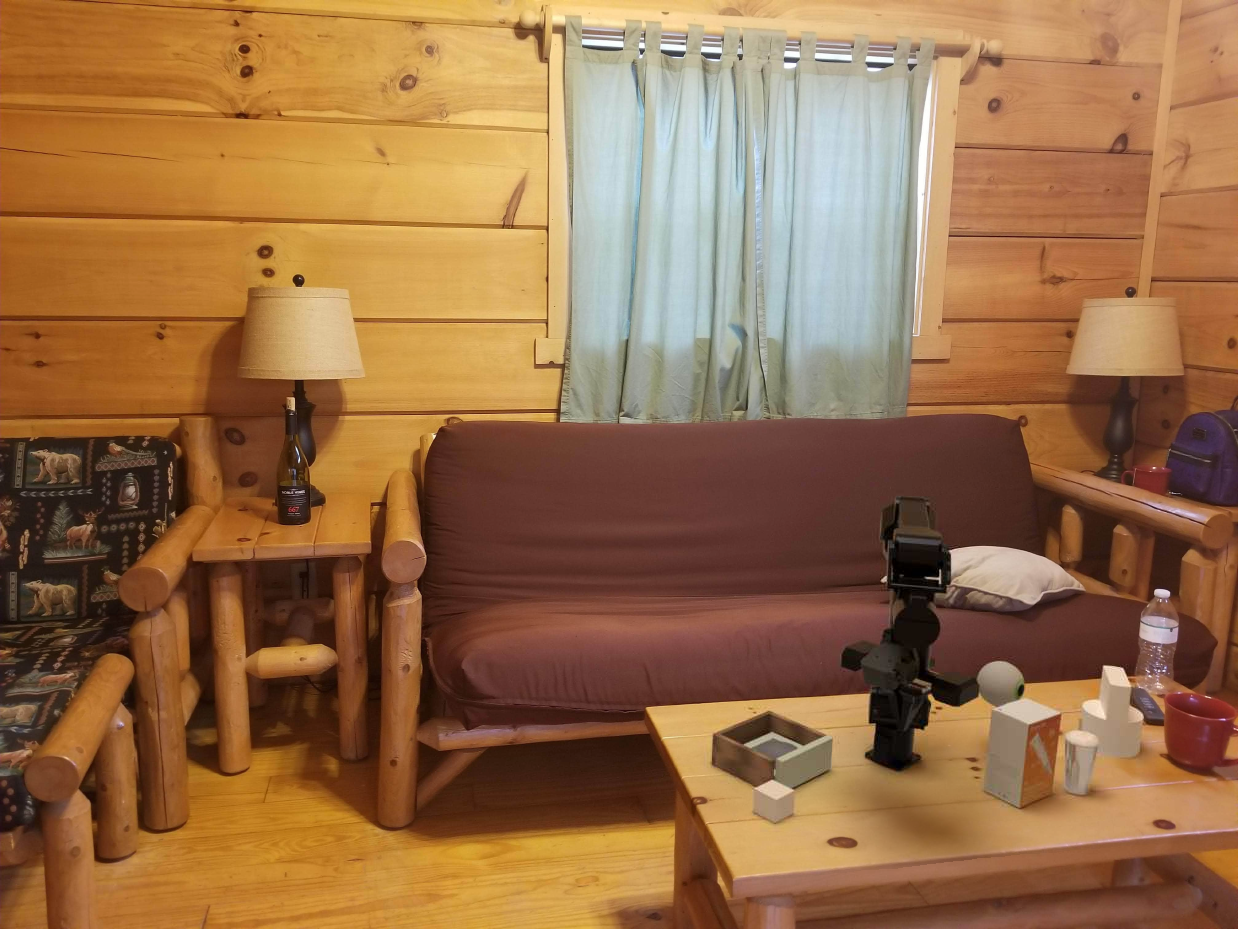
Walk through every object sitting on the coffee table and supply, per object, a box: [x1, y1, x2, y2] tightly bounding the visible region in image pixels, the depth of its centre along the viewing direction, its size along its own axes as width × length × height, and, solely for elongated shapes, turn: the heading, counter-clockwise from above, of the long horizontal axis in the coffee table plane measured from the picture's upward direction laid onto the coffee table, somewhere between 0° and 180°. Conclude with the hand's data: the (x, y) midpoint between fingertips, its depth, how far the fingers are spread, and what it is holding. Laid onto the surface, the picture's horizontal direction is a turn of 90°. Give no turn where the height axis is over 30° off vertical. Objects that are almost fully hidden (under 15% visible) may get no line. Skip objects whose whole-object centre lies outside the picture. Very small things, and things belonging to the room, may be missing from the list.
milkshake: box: [1063, 718, 1099, 796], centre depth 147 cm, size 4×5×10 cm
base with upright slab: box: [1080, 665, 1144, 759], centre depth 162 cm, size 9×9×12 cm
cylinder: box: [757, 741, 798, 769], centre depth 151 cm, size 6×6×2 cm
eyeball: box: [976, 660, 1026, 708], centre depth 158 cm, size 7×7×15 cm
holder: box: [711, 710, 827, 788], centre depth 153 cm, size 12×13×5 cm
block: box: [752, 780, 796, 824], centre depth 139 cm, size 4×4×4 cm
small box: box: [982, 697, 1062, 809], centre depth 145 cm, size 8×6×13 cm
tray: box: [744, 732, 834, 789], centre depth 151 cm, size 11×12×5 cm
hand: (902, 729), depth 139 cm, fingers closed
